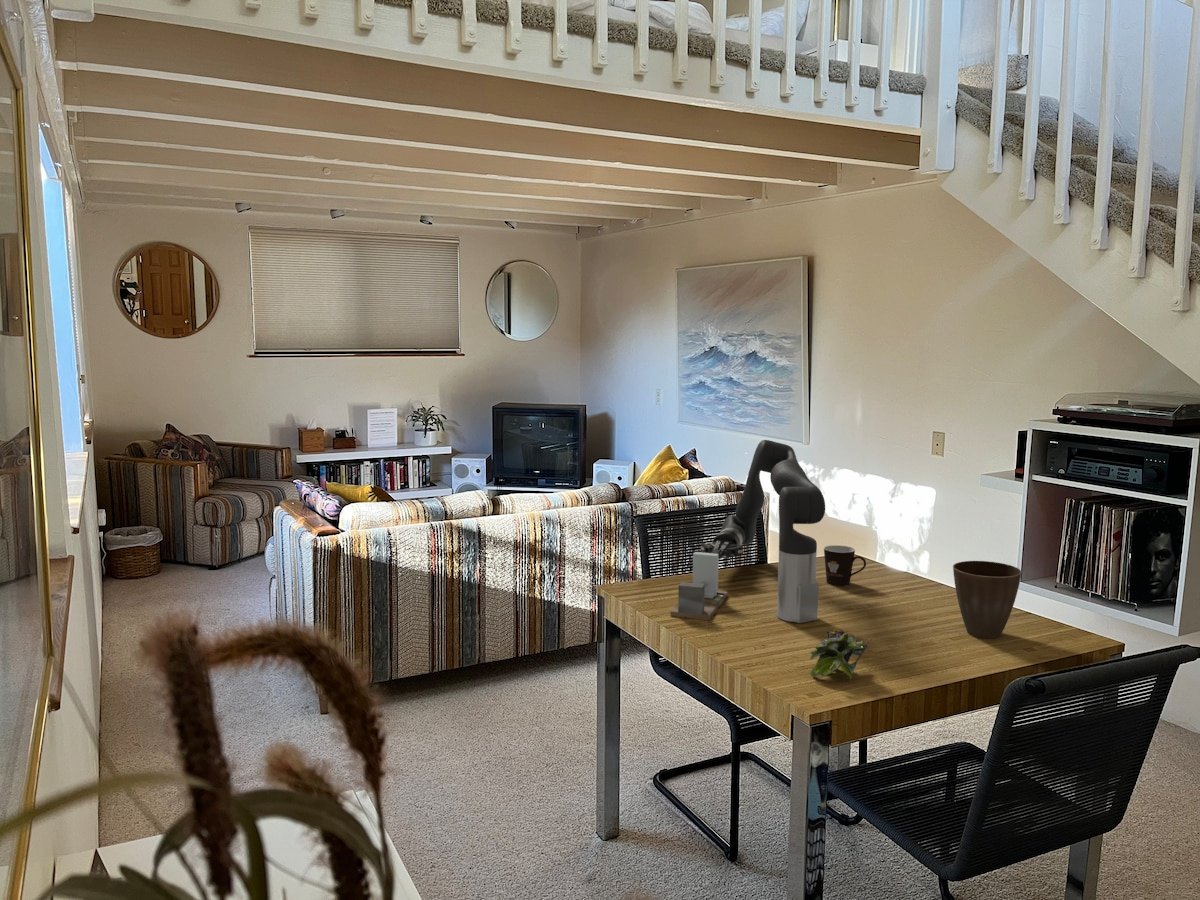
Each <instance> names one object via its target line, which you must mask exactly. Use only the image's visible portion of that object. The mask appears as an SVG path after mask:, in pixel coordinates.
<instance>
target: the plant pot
mask: <svg viewBox="0 0 1200 900" xmlns="http://www.w3.org/2000/svg"><path fill="white" fill-rule="evenodd" d="M952 570H953V580H954V586H955V587H954V588H955V592H956V597H957V598H956V599H957V602H958V607H959V610H960V614H961V616H962V617H961V618H962V620H963V624H964V626H965V627H964V628H965V629H966V632H967V633H968V634H969V635H970V636H973V637H975V638H976V637H977V638H982V639H997V638H1000V637H1001V635H1002V634H1003V631H1004V630H1005V627H1006V625H1007V623H1008V621H1009V618H1010V616H1011V613H1012V611H1013V607H1014V605H1015V601H1016V598H1017V595H1018V591H1019V587H1020V582H1021V577H1022V570H1021V569H1020V568H1018V567H1016V566H1013V565H1011V564H1006V563H1002V562H995V561H987V560H965V561H959V562H956V563H954V564H953V565H952Z"/></svg>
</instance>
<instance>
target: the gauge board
mask: <svg viewBox="0 0 1200 900" xmlns="http://www.w3.org/2000/svg"><path fill="white" fill-rule="evenodd" d="M718 593H725V596H724V595H717V596H714V597H713V599H712V598H705V584H696V583H693V582H683V581H681V582H680V583H679V584H678V596H677V597H678V598H677V599H678V602H677V604H676V605H675V606H673V608H672V609H671V610H670V617H675V616H677V617H678V618H684V617H687V619H695V620H703V619H705V620H704V621H710V620H711V619H712V618H713V616H714V615H715V614H716V612H717V611H718V610H719V608H720V607H721V605H722V604H723V603H724V601H725V600H726V599H725V598H727V597H728V591H724V590H718ZM722 602H723V603H722ZM719 606H720V607H719ZM679 616H680V617H679ZM710 618H711V619H710Z"/></svg>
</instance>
